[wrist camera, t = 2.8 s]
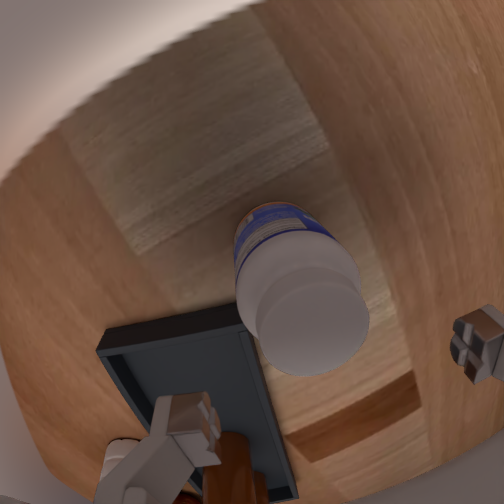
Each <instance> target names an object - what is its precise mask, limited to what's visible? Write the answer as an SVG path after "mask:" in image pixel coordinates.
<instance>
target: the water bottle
mask: <svg viewBox="0 0 504 504" xmlns="http://www.w3.org/2000/svg"><path fill="white" fill-rule="evenodd" d="M138 443H139V442H138V441H137V440H132V439H123V440H120V439H118V440H114V441H112V442H111V443H110V444H109V445H108V447H107V450H106V454H105V458H104V465H103V467H102V471H101V475H100V481H101V480H102V479H103V478H104V477H105V476H106V475H107V474H108V473H109V472H110V471H111V470H112V469H113V468H114V467H115V466H116V465H117V464H118V463H119V462H120V461H121V460H122V459H123V458H124V457H125V456H126V455H127V454H128V453H129V452H130V451H131V450H132V449H133V448H134V447H135V446H136V445H137V444H138Z"/></svg>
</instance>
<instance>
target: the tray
mask: <svg viewBox="0 0 504 504" xmlns="http://www.w3.org/2000/svg"><path fill="white" fill-rule="evenodd" d="M96 353H97V355H98V356H99V358H100V360H101V362H102V363H103V365H104V367H105V368H106V370H107V372H108V373H109V375H110V377H111V378H112V380H113V382H114V383H115V385H116V386H117V388H118V390H119V391H120V393H121V394H122V396H123V397H124V399H125V400H126V402H127V403H128V405H129V406H130V408H131V409H132V411H133V412H134V414H135V415H136V416H137V418H138V419H139V421H140V422H141V423H142V425H143V426H144V428H145V429H146V430H147V432H148V433H149V434H150V428H151V423H152V418H153V413H154V409H155V404H156V400H157V398H158V397H159V396H169V395H176V394H185V393H193V392H201V391H206V392H207V393H208V395H209V397H210V399H211V406H212V407H214V408H215V409H216V411H217V414H218V417H219V420H220V426H221V432H236V433H239V434H242V435H244V436H246V437H247V438H248V439H249V441H250V445H251V454H252V463H253V471H257V472H261V473H263V474H264V475H265V476H266V479H267V486H268V493H269V500H270V504H273V503H279V502H284V501H289V500H294V499H299V495H298V491H297V486H296V482H295V478H294V475H293V472H292V469H291V465H290V462H289V459H288V456H287V452H286V449H285V446H284V443H283V439H282V436H281V433H280V429H279V426H278V423H277V419H276V416H275V413H274V409H273V406H272V402H271V399H270V396H269V392H268V389H267V385H266V382H265V378H264V375H263V372H262V368H261V365H260V361H259V358H258V354H257V351H256V347H255V344H254V340H253V336H252V333H251V332H250V331H249V330H248V329H247V328H246V326H245V325H244V323H243V321H242V319H241V317H240V314H239V311H238V307H237V303H233V304H228V305H224V306H220V307H215V308H211V309H206V310H202V311H197V312H192V313H188V314H183V315H178V316H173V317H169V318H164V319H159V320H154V321H149V322H144V323H139V324H133V325H128V326H123V327H118V328H112V329H107V330H106V331H105V332H104V335H103V336H102V338H101V340H100V342H99V344H98V346H97V349H96ZM194 468H195V470H194V471H193V473H192V474H191V476H190V477H189V479H188V480H187V481H188V482H189V483H190V485H191V486H192V487H193V488H194V489H195V490H196V491H197V492H198V493H199V494H200V496H201V497H202V468H203V466H202V467H194Z"/></svg>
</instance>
